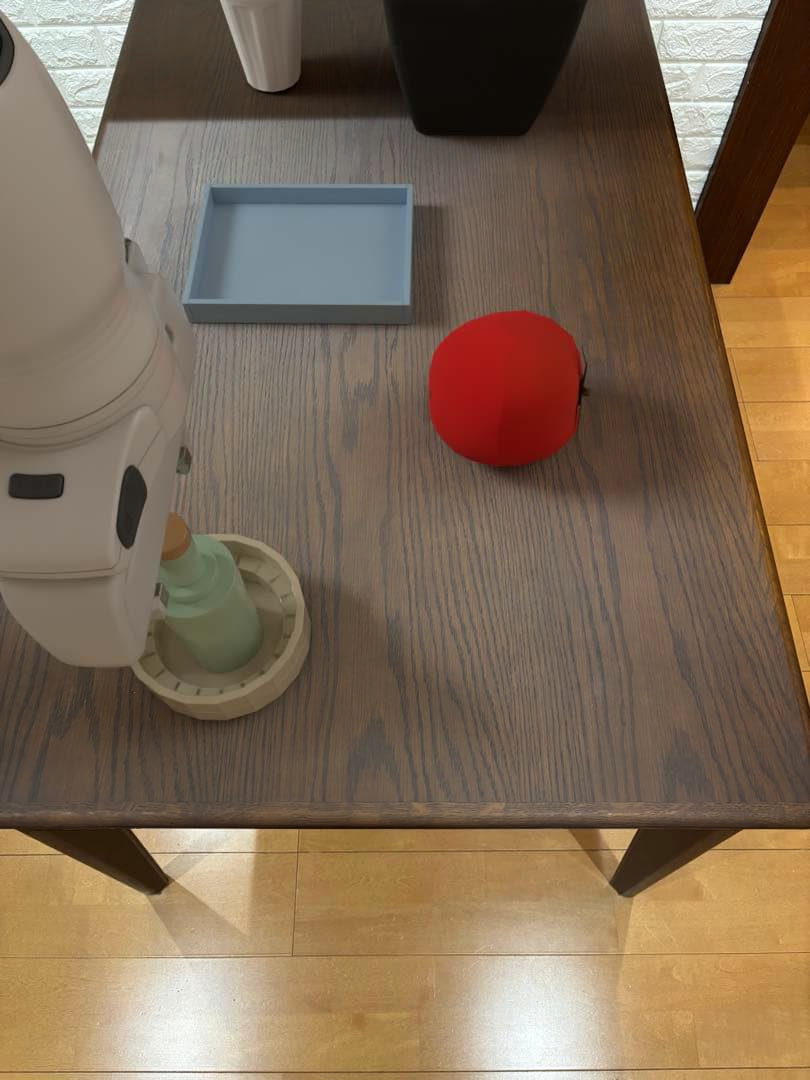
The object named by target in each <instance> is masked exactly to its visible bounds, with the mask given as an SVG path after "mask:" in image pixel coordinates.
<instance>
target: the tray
mask: <svg viewBox="0 0 810 1080" xmlns="http://www.w3.org/2000/svg"><path fill="white" fill-rule="evenodd" d="M201 199H202V200H201V204H200V210H199V213H198V214H199V215H198V219H197V225H196V230H195V235H194V240H193V245H192V252H191V256H190V259H189V260H190V262H189V267H188V272H187V277H186V281H185V286H184V287H185V288H184V291H183V297H182V300H181V301H182V303H181V305H182V308H183V310H184V312H185V314H186V316H187V319H188V321H189V323H190V324H191V323H192V324H193V323H195V324H196V323H199V324H202V323H205V324H207V323H208V324H209V323H210V324H314V325H315V324H317V325H319V324H320V325H321V324H327V325H328V324H329V325H334V324H335V325H337V324H338V325H411V314H412V312H411V311H412V310H411V307H412V276H413V275H412V273H413V271H412V269H413V234H414V184H413V183H223V182H222V183H221V182H220V183H217V182H215V183H214V182H213V183H208V182H207V183H205V184H204V189H203V194H202V198H201Z"/></svg>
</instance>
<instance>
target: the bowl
mask: <svg viewBox="0 0 810 1080" xmlns="http://www.w3.org/2000/svg"><path fill="white" fill-rule="evenodd" d="M204 535H205V536H209V537H212V538H214V539H216V540H218V541H219V542H221V543H222V544H223V545H225V546H226V547H227V549H228V550H229V551H230V553H231V555H232V557H233V559H234V561H235V563H236V565H237V567H238V570H239V572H240V574H241V576H242V578H243V581H244V583H245V585H246V587H247V589H248V592H249V594H250V596H251V598H252V600H253V602H254V605H255V607H256V609H257V611H258V613H259V616H260V618H261V620H262V624H263V630H264V633H263V641H262V644H261V646H260V648H259V650H258V652H257V653H256V655H255V656H254V657H253V658H252V659H251V660H250V661H249V662H248V663H247V664H245V665H244V666H242V667H240V668H238V669H236V670H233V671H229V672H212V671H208V670H205V669H203V668H201V667H200V666H198V665H197V664H196V663H195V662H194V661H193V660H192V659H191V657H190V656H189V655H188V653H187V652H186V651H185V649H184V648H183V646H182V645H181V644H180V642H179V641H178V640H177V638H176V637H175V636H174V634H173V633H172V632H171V630H170V629H169V628H168V626H167V625H166V624H165V622H164V621H163V620H162V619H150V621H149V627H148V633H147V640H146V646H145V650H144V653H143V655H142V656H141V658H140V659H139V660H138V661H136V662H135V663H134V664H132V665H130V666H129V667H130V668H131V670H132V671H133V673H134V674H135V676H136V677H137V679H138V680H139V681H140V682H141V683H142V684H143V685H144V686H145V687H146V688H147V689H148V690H149V691H150V692H151V693H152V694H153V695H154V696H155V697H157V698H158V699H159V700H160V701H161V702H163V703H164V704H165V705H166V706H167V707H168V708H170V709H171V710H172V711H174V712H177V713H179V714H182V715H184V716H185V715H186V716H188V717H192V718H193V719H197V720H200V721H201V720H203V721H204V720H205V721H206V720H207V721H229V720H232V719H235V718H240V717H242V716H247V715H250V714H253V713H255V712H258V711H259V710H261V709H262V708H264V707H265V706H267V705H268V704H270V703H272V702H273V701H275V700H276V699H278V698H279V697H281V695H283V693H284V692H285V691H286V690H287V689H288V687H289V686H291V684H292V683H293V682H294V680H295V679H296V678H297V676H299V674H300V672H301V669H302V667H303V665H304V663H305V661H306V657H307V655H308V653H309V651H310V645H311V644H310V642H311V632H312V631H311V630H312V622H311V617H310V613H309V609H308V606H307V602H306V598H305V595H304V592H303V589H302V586H301V582H300V580H299V577H298V575H297V574H296V572H295V571H294V569H293V568H292V567H291V565H290V564H289V563H288V562H287V560H286V558H285V557H284V556H283V555H281V554H280V553H279V552H278V551H276V550H275V549H273V548H272V547H270V546H269V545H267V544H266V543H264V542H263V541H260V540H256V539H254V538H251V537H247V536H245V535H241V534H236V533H209V534H204Z"/></svg>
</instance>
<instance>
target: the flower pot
mask: <svg viewBox="0 0 810 1080" xmlns="http://www.w3.org/2000/svg"><path fill="white" fill-rule="evenodd" d="M382 4H383V10H384V11H383V12H384V17H385V23H386V28H387V34H388V40H389V45H390V49H391V54H392V59H393V63H394V67H395V72H396V76H397V79H398V82H399V86H400V89H401V92H402V97H403V99H404V102H405V105H406V108H407V111H408V114H409V117H410V119H411V122H412V123H413V124H412V125H413V127H414V129H415V130H416V132H417V133H420V134H424V135H524V134H527V133H529V132H530V130H531V129H532V128H533V125H534V124H535V123H536V121H537V120H538V118H539V116H540V115H541V113H542V111H543V109H544V107H545V106H546V104H547V102H548V100H549V98H550V97H551V94H552V92H553V90H554V88H555V86H556V84H557V82H558V80H559V77H560V76H561V73H562V71H563V69H564V66H565V64H566V62H567V59H568V57H569V54H570V51H571V49H572V46H573V44H574V42H575V39H576V36H577V33H578V30H579V28H580V25H581V22H582V19H583V16H584V12H585V10H586V7H587V4H588V0H382Z"/></svg>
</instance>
